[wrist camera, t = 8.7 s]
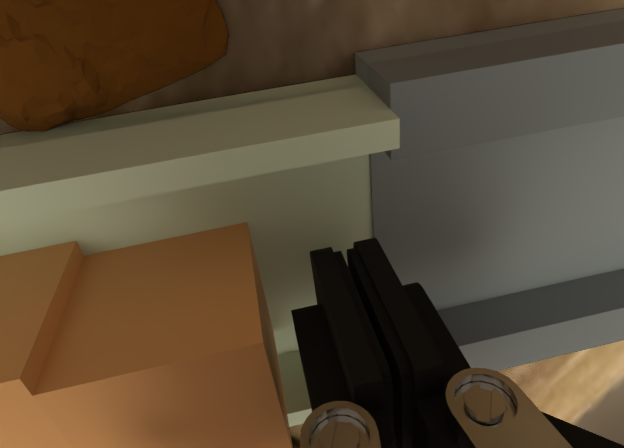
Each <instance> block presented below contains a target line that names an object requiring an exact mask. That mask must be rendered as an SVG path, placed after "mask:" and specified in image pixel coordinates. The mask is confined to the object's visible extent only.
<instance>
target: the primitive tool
mask: <svg viewBox="0 0 624 448" xmlns="http://www.w3.org/2000/svg"><path fill="white" fill-rule="evenodd" d="M227 43H228V30H227V27H226V24H225V21H224V18H223V15H222V12H221V9H220V7H219V6H218V5H217V3H216V2H215V0H0V117H1V118H2V119H3V120H4V121H5V122H6V123H7V124H9V125H11V126H13V127H16V128H18V129H20V130H23V131H26V132H33V131H47V130H50V129H53V128H55V127H58V126H61V125H63V124H66V123H67V122H70V121H73V120H79V119H84V118H89V117H93V116H96V115H99V114H102V113H105V112H107V111H109V110H112V109H114V108H117V107H119V106H120V105H122V104H124V103H126V102H128V101H131V100H133V99H136V98H138V97H141V96H143V95H145V94H148V93H151V92H153V91H155V90H158V89H160V88H162V87H165V86H167V85H169V84H171V83H174V82H176V81H178V80H181V79H183V78H185V77H187V76H189V75H191V74H193V73H195V72H197V71H200V70H202V69H204V68H206V67H207V66H209V65H210V64H212V63H213V62H214V61H216V60H218V59H219V58H221V57H223V56H224V55H226V51H227Z"/></svg>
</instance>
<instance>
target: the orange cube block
mask: <svg viewBox="0 0 624 448" xmlns="http://www.w3.org/2000/svg"><path fill="white" fill-rule="evenodd" d="M83 258H84V255H83V253H82V251H81V249H80V247H79V245H78V243H77V241H72V242H67V243H62V244H57V245H52V246H48V247H43V248H38V249H33V250H28V251H23V252H18V253H13V254H8V255H4V256H0V448H72V446H71V445H70V444H69V442H68V441H67V440H66V438H65V437H64V436H63V435H62V433H61V432H60V431H59V429H58V428H57V427H56V426H55V424H54V423H53V422H52V420H51V419H50V418H49V416H48V415H47V414H46V413H45V411H44V410H43V409H42V407H41V406H40V405H39V404H38V402H37V401H36V400H35V398H34V397H33V393H34V390H35V388H36V385H37V382H38V379H39V377H40V374H41V371H42V369H43V366H44V363H45V360H46V358H47V355H48V352H49V350H50V347H51V344H52V342H53V339H54V336H55V333H56V331H57V328H58V325H59V323H60V320H61V317H62V314H63V312H64V309H65V306H66V304H67V301H68V298H69V296H70V293H71V290H72V287H73V285H74V282H75V279H76V277H77V274H78V271H79V268H80V266H81V263H82V260H83Z"/></svg>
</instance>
